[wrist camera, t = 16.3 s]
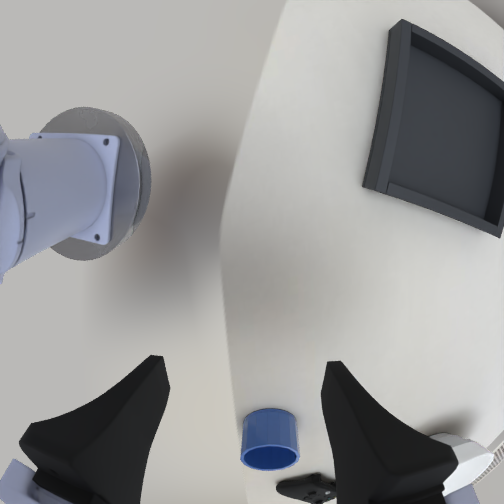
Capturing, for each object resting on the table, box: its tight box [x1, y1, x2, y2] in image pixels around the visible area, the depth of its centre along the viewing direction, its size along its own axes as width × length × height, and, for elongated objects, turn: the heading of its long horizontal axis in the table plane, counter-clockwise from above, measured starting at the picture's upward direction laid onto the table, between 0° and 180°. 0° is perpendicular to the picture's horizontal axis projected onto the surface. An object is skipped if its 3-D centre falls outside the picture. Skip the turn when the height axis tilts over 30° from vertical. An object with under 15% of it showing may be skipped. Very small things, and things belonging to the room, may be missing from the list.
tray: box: [362, 19, 504, 238], centre depth 15 cm, size 13×13×2 cm
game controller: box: [276, 474, 337, 504], centre depth 29 cm, size 10×5×6 cm
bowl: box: [429, 433, 494, 496], centre depth 25 cm, size 20×20×8 cm
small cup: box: [240, 409, 300, 471], centre depth 23 cm, size 5×5×4 cm
